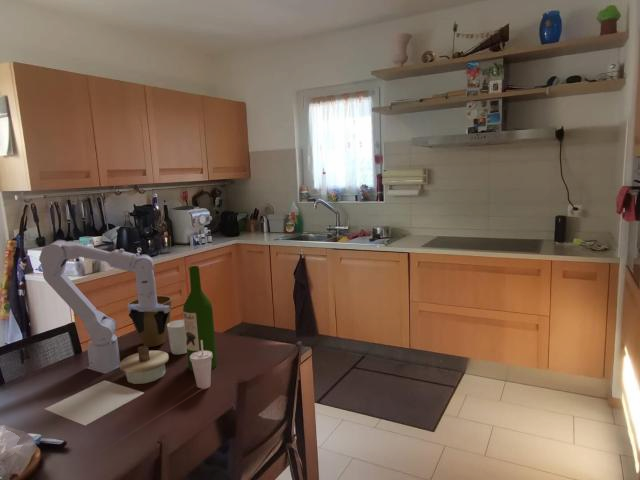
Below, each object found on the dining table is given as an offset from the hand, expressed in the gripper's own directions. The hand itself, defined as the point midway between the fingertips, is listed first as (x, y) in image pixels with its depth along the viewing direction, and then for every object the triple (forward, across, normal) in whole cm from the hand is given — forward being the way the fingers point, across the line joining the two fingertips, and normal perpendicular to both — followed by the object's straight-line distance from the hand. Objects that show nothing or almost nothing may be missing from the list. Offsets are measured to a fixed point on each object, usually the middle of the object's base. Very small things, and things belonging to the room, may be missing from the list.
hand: (151, 332), depth 149 cm
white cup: (+10, +4, +9) cm, 14 cm away
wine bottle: (+10, +18, -1) cm, 21 cm away
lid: (+5, +4, -10) cm, 13 cm away
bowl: (+10, +4, -10) cm, 15 cm away
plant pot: (+10, -10, +14) cm, 20 cm away
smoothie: (+10, +26, -13) cm, 30 cm away
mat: (+10, 0, -27) cm, 29 cm away
